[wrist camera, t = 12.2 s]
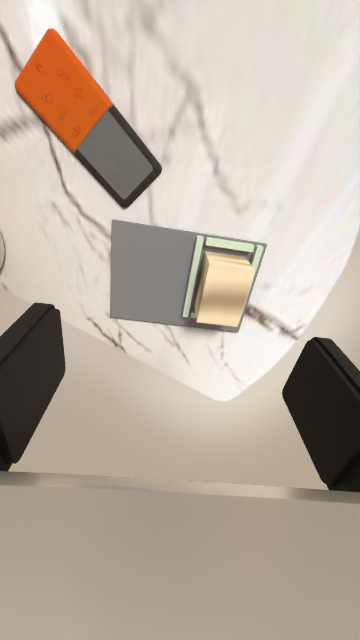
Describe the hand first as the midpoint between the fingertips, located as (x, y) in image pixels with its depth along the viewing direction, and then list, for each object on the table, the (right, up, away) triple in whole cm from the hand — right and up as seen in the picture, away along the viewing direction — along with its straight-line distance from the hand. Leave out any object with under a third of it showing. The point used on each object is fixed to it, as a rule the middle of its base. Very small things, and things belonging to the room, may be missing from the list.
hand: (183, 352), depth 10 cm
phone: (-9, +22, +18) cm, 30 cm away
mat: (0, +7, +27) cm, 28 cm away
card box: (+5, +7, +26) cm, 28 cm away
